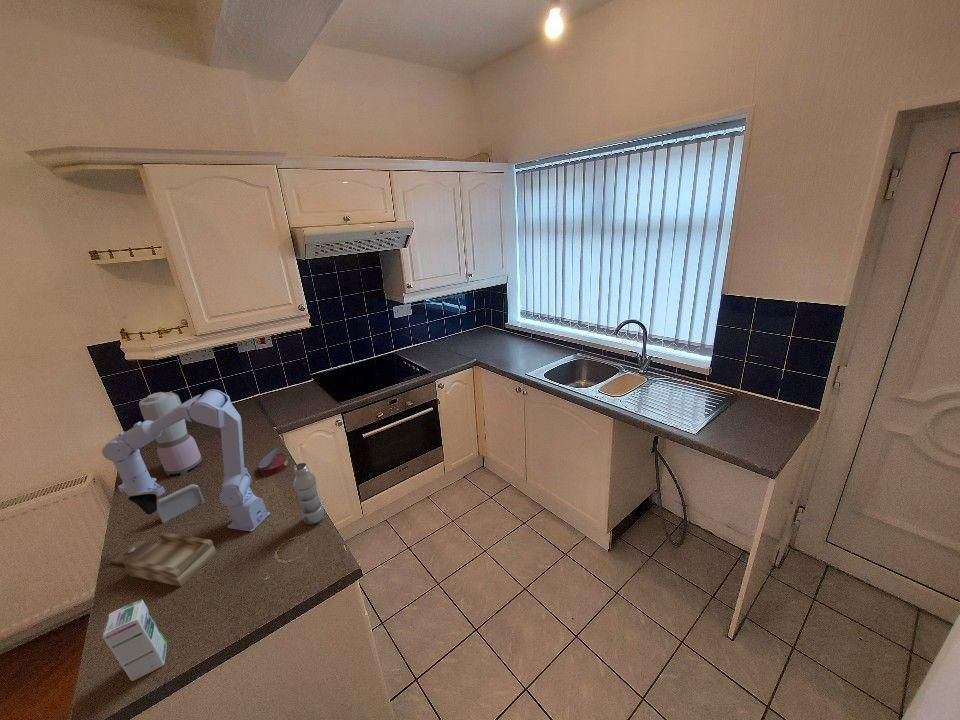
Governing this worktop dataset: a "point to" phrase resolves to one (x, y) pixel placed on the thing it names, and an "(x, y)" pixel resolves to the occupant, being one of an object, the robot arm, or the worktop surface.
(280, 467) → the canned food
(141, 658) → the syrup box
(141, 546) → the lid plate
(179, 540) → the oak box
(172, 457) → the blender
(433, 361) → the worktop surface
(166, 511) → the arched grey pull
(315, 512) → the plastic bottle
